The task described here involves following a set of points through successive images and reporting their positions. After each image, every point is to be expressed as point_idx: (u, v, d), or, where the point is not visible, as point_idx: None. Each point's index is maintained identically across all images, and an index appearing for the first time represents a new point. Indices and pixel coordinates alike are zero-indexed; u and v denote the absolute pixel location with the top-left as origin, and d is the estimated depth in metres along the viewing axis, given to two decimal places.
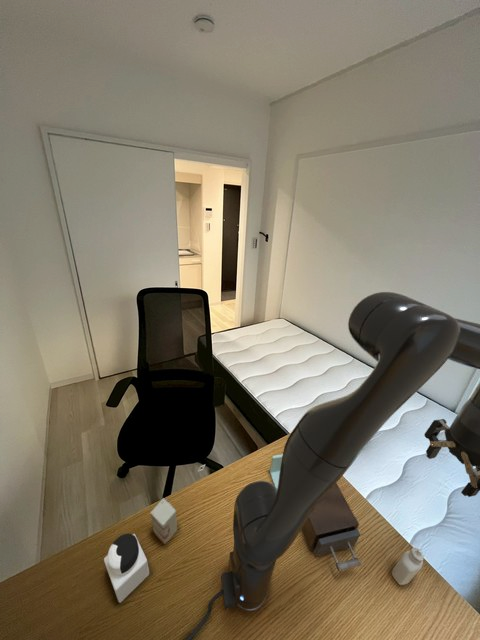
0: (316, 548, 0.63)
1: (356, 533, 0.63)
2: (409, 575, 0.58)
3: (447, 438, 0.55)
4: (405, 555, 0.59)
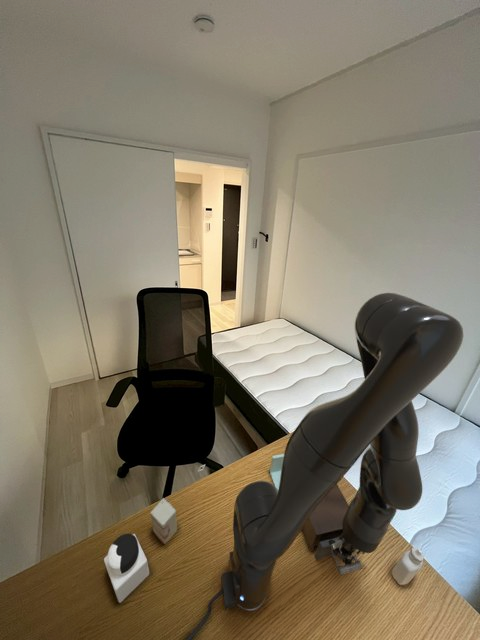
0: (317, 551, 0.62)
1: None
2: (409, 575, 0.58)
3: None
4: (405, 555, 0.59)
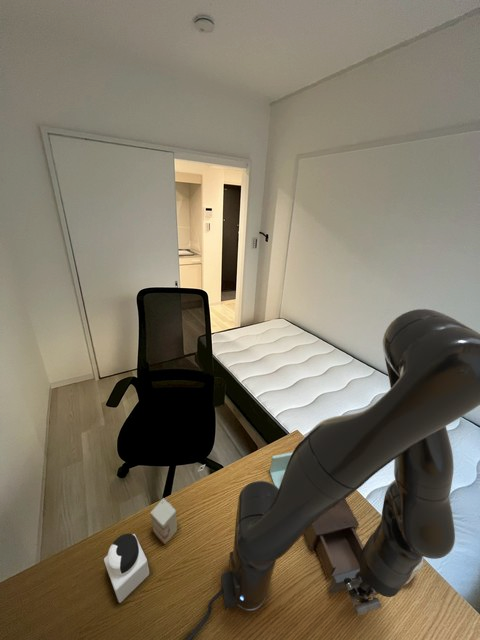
0: (331, 585, 0.57)
1: None
2: None
3: None
4: None
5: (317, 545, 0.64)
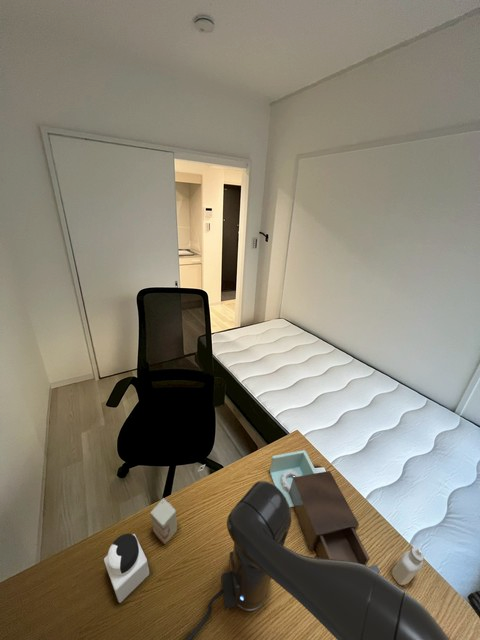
0: None
1: (375, 569, 0.57)
2: (409, 575, 0.58)
3: None
4: (405, 555, 0.59)
5: (317, 546, 0.63)
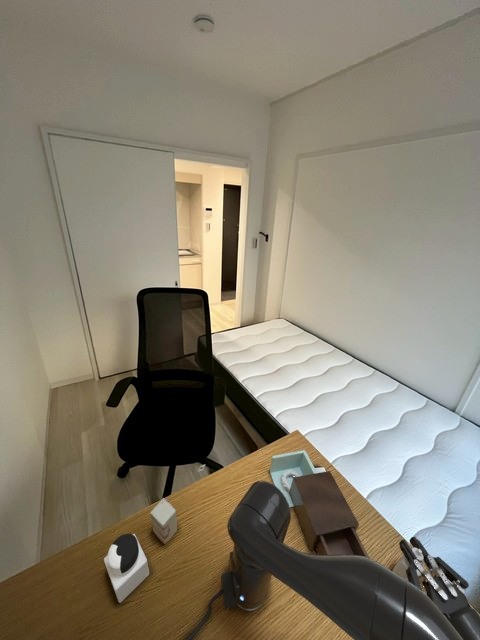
0: None
1: None
2: None
3: (456, 589, 0.52)
4: None
5: (317, 546, 0.63)
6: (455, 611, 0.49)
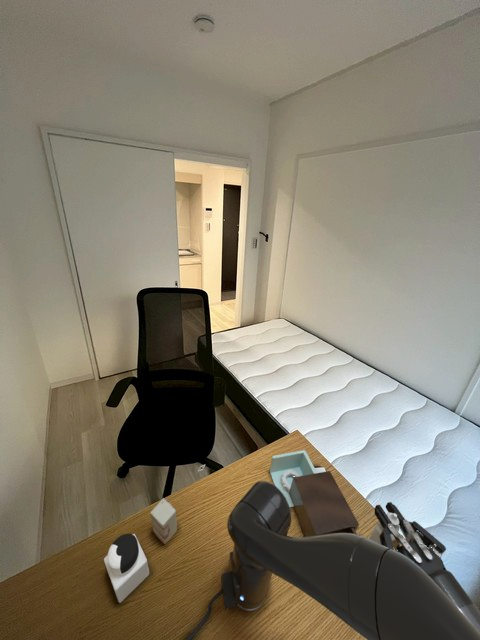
0: None
1: None
2: None
3: (431, 553, 0.48)
4: None
5: None
6: (429, 574, 0.45)
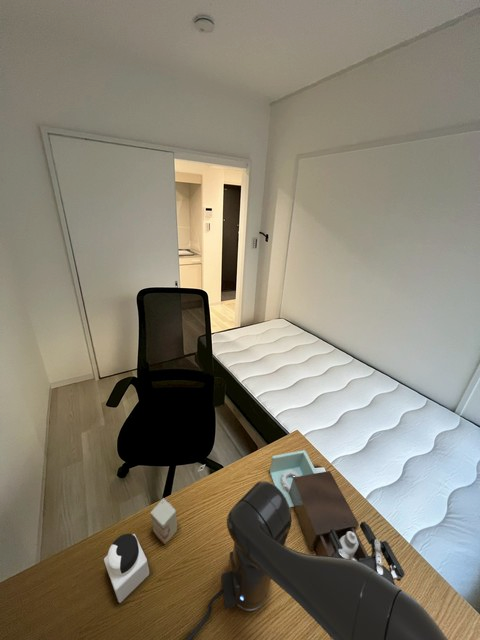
0: None
1: None
2: None
3: (383, 568, 0.52)
4: (341, 539, 0.59)
5: (317, 545, 0.64)
6: None
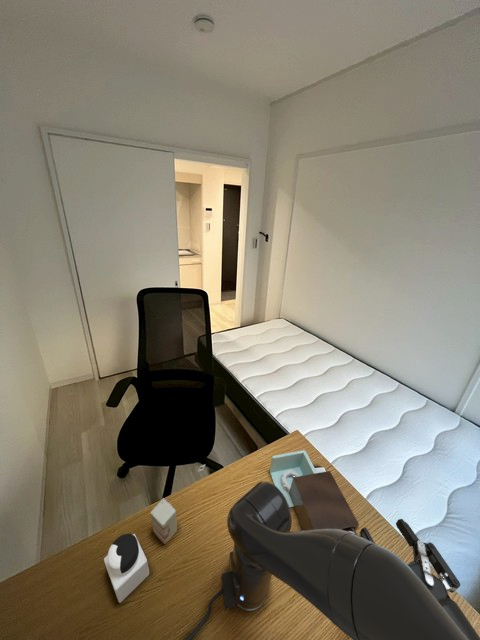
0: None
1: None
2: None
3: (433, 577, 0.41)
4: None
5: None
6: None
